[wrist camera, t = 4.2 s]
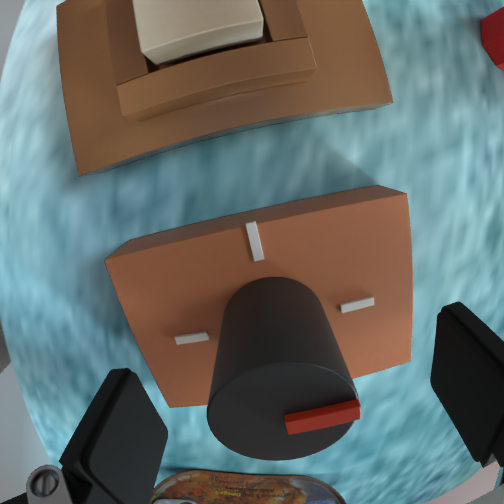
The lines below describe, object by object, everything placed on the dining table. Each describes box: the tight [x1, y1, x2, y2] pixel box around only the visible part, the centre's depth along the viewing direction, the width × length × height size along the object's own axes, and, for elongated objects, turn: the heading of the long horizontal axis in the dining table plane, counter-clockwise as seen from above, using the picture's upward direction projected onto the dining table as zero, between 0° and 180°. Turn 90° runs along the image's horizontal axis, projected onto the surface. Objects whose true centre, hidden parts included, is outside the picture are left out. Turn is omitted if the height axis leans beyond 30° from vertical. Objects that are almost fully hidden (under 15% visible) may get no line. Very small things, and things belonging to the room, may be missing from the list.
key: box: [132, 0, 263, 66], centre depth 7 cm, size 4×4×2 cm
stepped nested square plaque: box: [56, 0, 393, 177], centre depth 10 cm, size 13×9×4 cm
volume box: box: [104, 185, 413, 408], centre depth 14 cm, size 12×8×3 cm
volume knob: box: [207, 277, 361, 461], centre depth 10 cm, size 4×4×6 cm
